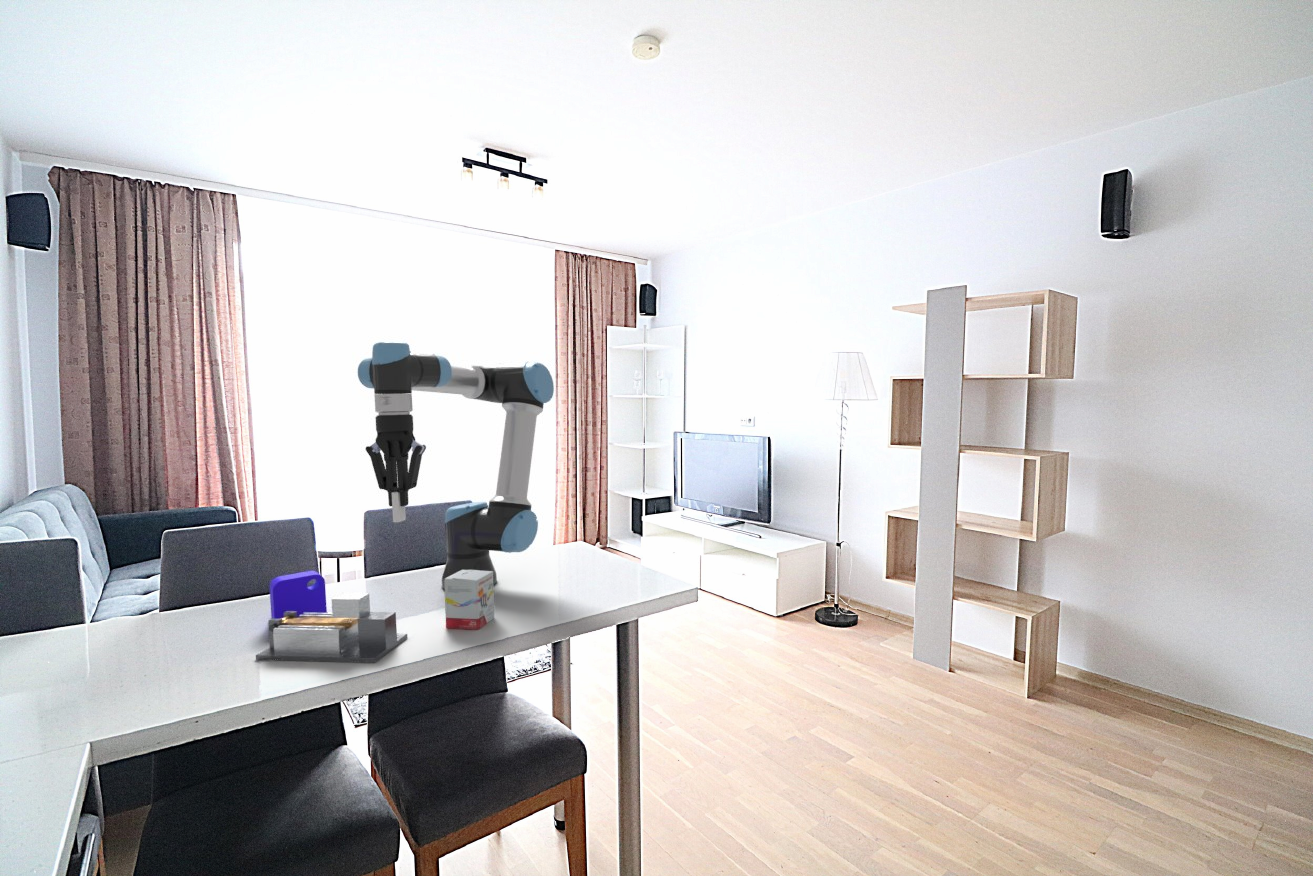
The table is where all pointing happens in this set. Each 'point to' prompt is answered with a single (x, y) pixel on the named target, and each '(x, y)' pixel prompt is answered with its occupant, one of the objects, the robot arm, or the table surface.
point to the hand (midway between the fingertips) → (399, 520)
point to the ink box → (469, 599)
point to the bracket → (297, 594)
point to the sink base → (360, 652)
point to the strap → (319, 621)
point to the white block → (350, 605)
